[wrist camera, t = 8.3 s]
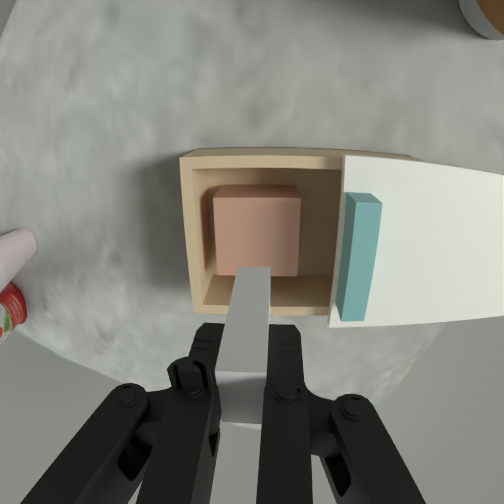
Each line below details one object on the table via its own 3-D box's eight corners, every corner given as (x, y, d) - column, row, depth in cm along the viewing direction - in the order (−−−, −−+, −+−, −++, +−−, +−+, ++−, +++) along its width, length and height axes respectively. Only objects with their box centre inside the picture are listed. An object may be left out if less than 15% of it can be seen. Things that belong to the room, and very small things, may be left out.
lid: (342, 153, 19) (355, 160, 16) (538, 182, 18) (562, 192, 15) (327, 321, 24) (333, 347, 21) (505, 310, 23) (521, 328, 20)
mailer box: (198, 148, 25) (179, 157, 20) (408, 155, 24) (440, 167, 19) (207, 276, 30) (193, 312, 25) (391, 278, 29) (412, 312, 24)
